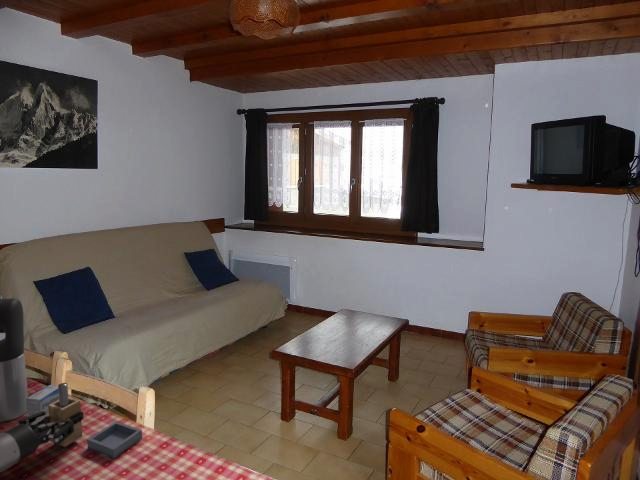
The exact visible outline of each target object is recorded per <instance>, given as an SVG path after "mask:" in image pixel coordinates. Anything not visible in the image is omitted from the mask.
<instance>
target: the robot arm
mask: <svg viewBox="0 0 640 480" xmlns="http://www.w3.org/2000/svg"><path fill="white" fill-rule="evenodd" d="M24 331H25V330H24V307H23V303H22V302H21V301H20V299H18V298H11V297H10V298H0V334H5V337H4V338H3V339H2V338H1V339H0V422H7V421H12V420H15V419H18V418H19V417H22V416H24V415H25V414H27V405H26V398H28V397H29V394H28V382H27V381H28V380H27V371H26V359H25V358H26V357H25V347H24V346H25V332H24ZM37 417H40V418H38V419H37V420H36V418H37ZM83 420H84V411H82V410H81V411H80V412H78V413H76V414H74V415H73V416H71V417H69V418H68V419H65V420H62V421H59V420H56V421H54V422H51V423H50V422H49V412H48V413H45V411H42V412H39V413H37V414H34V415H32V416H29V417H28V416H27V417H24V418H21V419H20V420H18V421H17V422H18V424H17V425H15V426H13V427H11V428H9V429H8V430H6V431H4V432H1V433H0V473H2V472H4V471H6V470H8V469H10V468H11V467H13V466H14V465H16V464H18V463H19V462H22V461H23V460H25V459H27V458H28V457H30V456H31V455H34V454H35V453H36V451H37V450H38V448H39V446H40V445H43V444H46V443H48V442H51V441H53V442H54V443H53V442H52V443H53V445H54V446H59V445H58V444H60V443H61V442H62V441H63V440H65V439H66V438H67V437H68V436H69V435H71V434H72V433H73V432H74V425H75V424H77V423H78V422H80V421H82V422H83ZM63 424H65V426H63V427H62V428H61V425H63ZM55 425H56V431H55V429H54V426H55ZM67 430H68V431H67Z"/></svg>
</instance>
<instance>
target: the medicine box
mask: <svg viewBox="0 0 640 480" xmlns="http://www.w3.org/2000/svg"><path fill="white" fill-rule="evenodd" d="M57 400H59V390H58V385H54V384H49V385H47V386H45V387H43V388H42V389H39V391H37V392H35V393H33V394H32V395H30V396H28V398H26V405H27V412H26V414H27V417H29V416H32V415H34V414H37V413H39V412H42V411H45V413H48V412H49V409H48V405H49V404H51V403H53V402H55V401H57ZM38 418H40V417H37V418H36V420H37V419H38Z"/></svg>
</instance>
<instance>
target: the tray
mask: <svg viewBox="0 0 640 480" xmlns="http://www.w3.org/2000/svg"><path fill="white" fill-rule="evenodd" d="M141 440H143V430H142V429H141V428H137V427H133V426H131V425H129V424H125V423H122V422H120V421H115V422H113V423H111V424H110V425H108V426H107V427H105V428H103V429H101V430H100V431H98V432H97V433H95V434H94V435H92V436H90V437H89V438H88V439H86V441H87V444H86V445H87V449H88V450H90V451H93V452H95V453H98V454H100V455H103V456H106V457H109V458H111V459H113V460H115V459H116V458H118V457H119V456H120V455H122V454H123V453H125V452H127V450H129V449H131V448H132V447H133V446H134V445H136V444H137V443H138V442H140V441H141Z"/></svg>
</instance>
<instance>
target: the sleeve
mask: <svg viewBox="0 0 640 480" xmlns="http://www.w3.org/2000/svg"><path fill="white" fill-rule="evenodd" d="M68 399H69V405H68V406H66V407H64V408H62V407H60V404H59V400H57V401H55V402H53V403H51V404H49V405H48V409H49V422H50V423H51V422H54V421H56V420H59V421H62V420H65V419H68V418H69V417H71V416H73V415H74V414H76V413H78V412H80V411H81V412H82V406H81V400H80V399H76V398H74V397H72V396H69V395H68ZM82 423H83V420H82V421H80V422H78V423H77V424H75V425H74V432H73V433H72V434H71V435H69V436H68V437H67V438H66V439H65V440H63V441H62V442H61V443H60V444H58V445H57V446H62V447H64V448H65V447H68V446H69V445H70V444H73V443H74V442H76V441H78V440H79V439H81V438H82V437H83V424H82ZM63 426H65V424H63V425H61V428H62V427H63ZM54 429H55V431H56V425H55V426H54ZM67 431H68V430H67ZM50 442H51V443H53V444H54V442H53V441H50Z"/></svg>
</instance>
